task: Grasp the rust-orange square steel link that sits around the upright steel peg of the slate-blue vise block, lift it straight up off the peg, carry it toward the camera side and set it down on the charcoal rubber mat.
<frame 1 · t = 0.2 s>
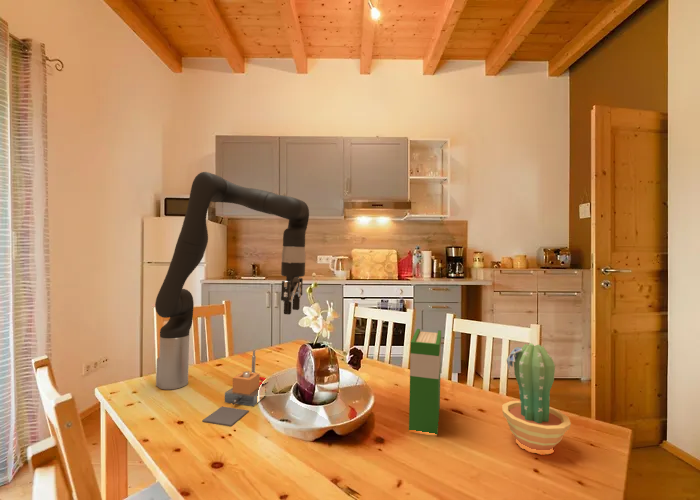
hand: (291, 311, 110), 28 cm above the table, tool pointing down, fingers open, 8 cm apart
hardback book: (425, 420, 99), on the table
pad: (226, 416, 98), on the table
vise block: (245, 399, 110), on the table
link: (246, 389, 110), point 3 cm above the table, touching vise block
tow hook: (255, 384, 124), on the table
potted cactus: (534, 445, 87), on the table
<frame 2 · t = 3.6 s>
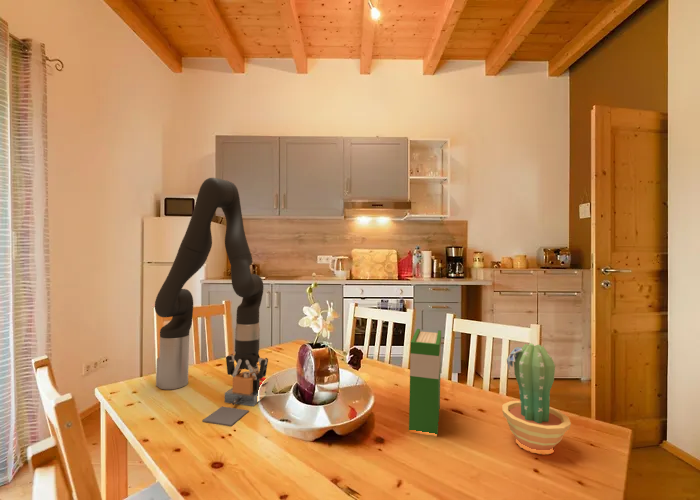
hand: (246, 389, 110), 3 cm above the table, tool pointing down, fingers closed on link, 6 cm apart
link: (246, 389, 110), point 3 cm above the table, touching gripper, vise block
everything else where it was.
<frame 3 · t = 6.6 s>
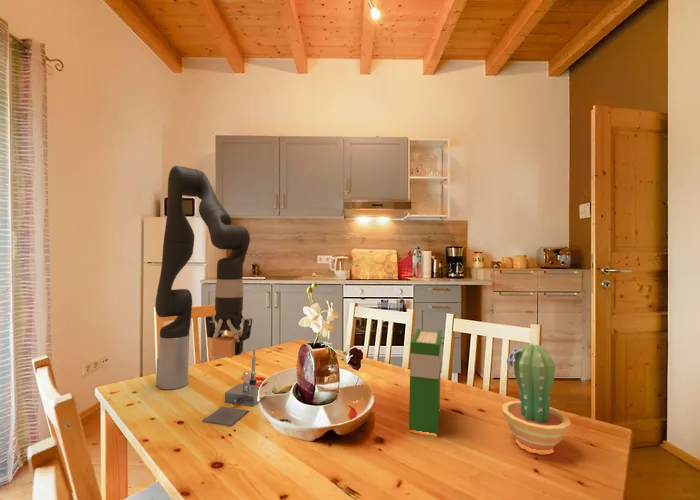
hand: (227, 353, 98), 18 cm above the table, tool pointing down, fingers closed on link, 6 cm apart
link: (227, 353, 98), point 18 cm above the table, touching gripper
everything else where it was.
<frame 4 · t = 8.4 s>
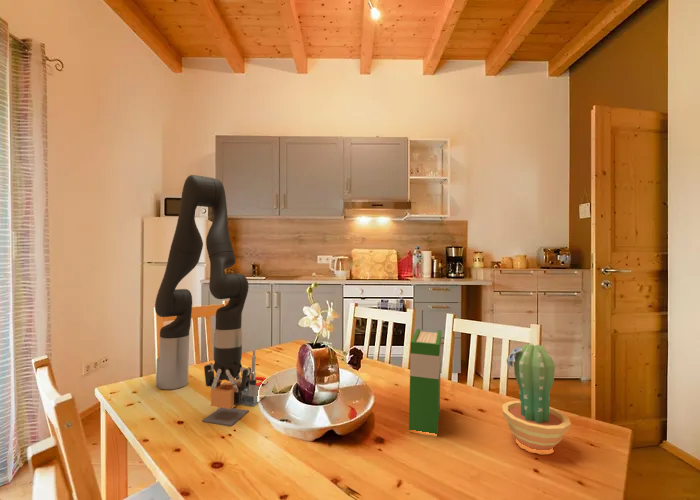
hand: (226, 402, 98), 4 cm above the table, tool pointing down, fingers closed on link, 6 cm apart
link: (226, 403, 98), point 4 cm above the table, touching gripper
everything else where it was.
when the fingers open (2 cm above the table, at t = 9.8 s): link drops 2 cm, resting on pad.
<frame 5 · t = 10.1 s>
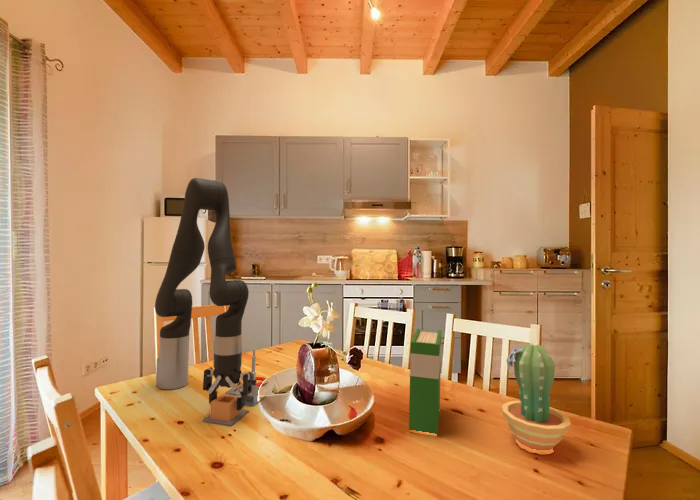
hand: (226, 407, 98), 3 cm above the table, tool pointing down, fingers open, 8 cm apart
link: (226, 415, 98), resting on pad
everything else where it was.
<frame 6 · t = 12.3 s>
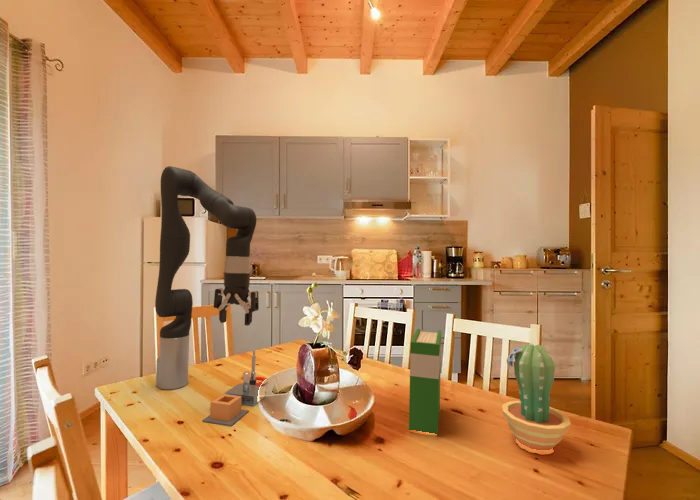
hand: (235, 323, 106), 25 cm above the table, tool pointing down, fingers open, 8 cm apart
nothing on the table moved.
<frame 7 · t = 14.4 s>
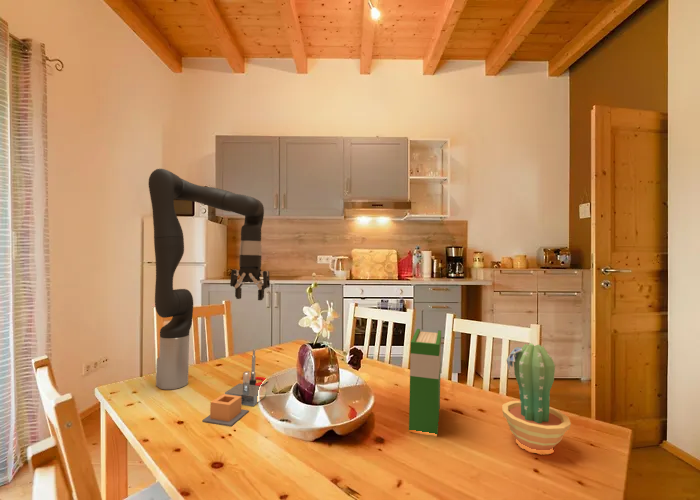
hand: (249, 299, 123), 30 cm above the table, tool pointing down, fingers open, 8 cm apart
nothing on the table moved.
at the end: link inside the target area on the pad (0.1 cm from its centre), point 0.4 cm above the pad's base; link touching pad; the gripper is holding nothing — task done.
